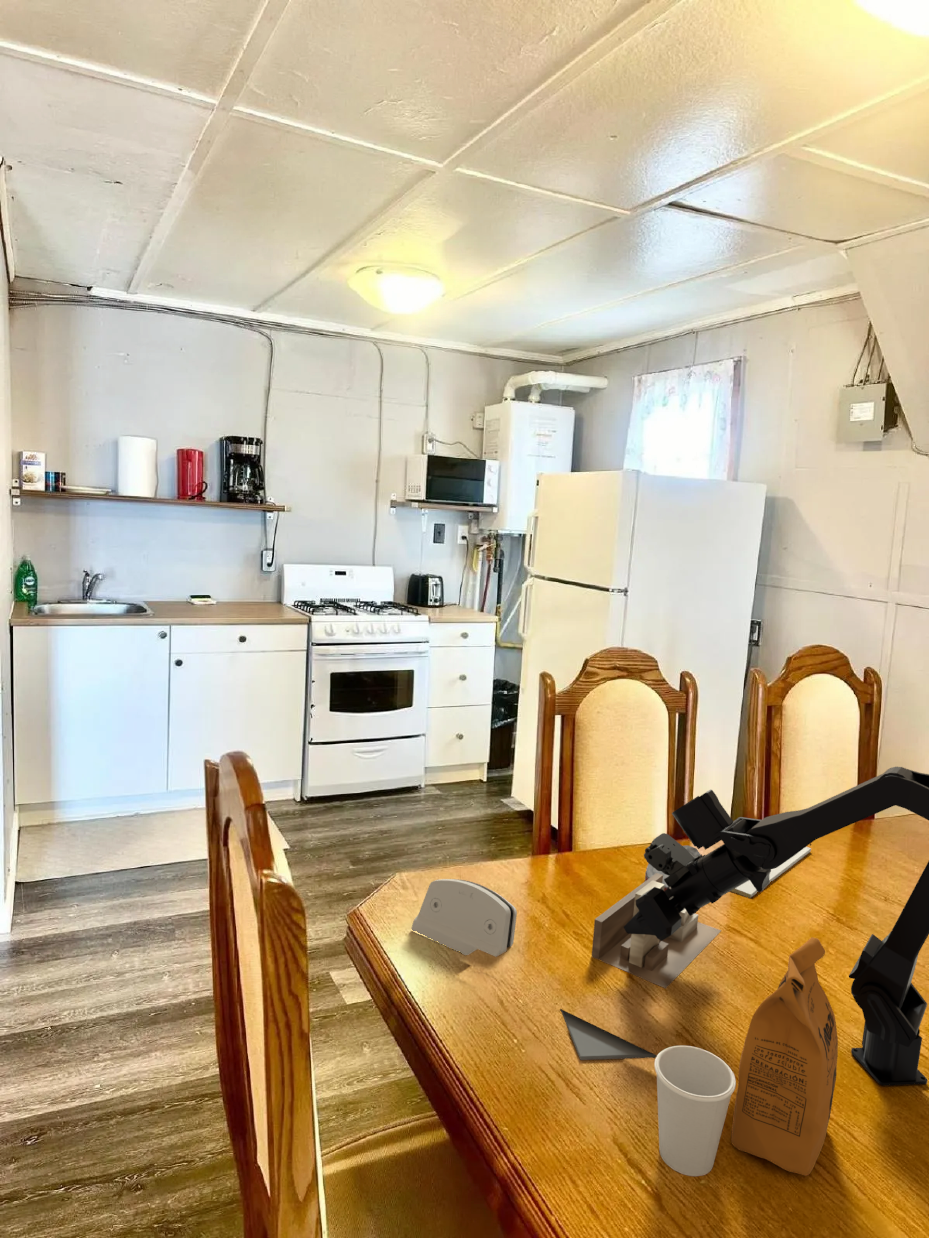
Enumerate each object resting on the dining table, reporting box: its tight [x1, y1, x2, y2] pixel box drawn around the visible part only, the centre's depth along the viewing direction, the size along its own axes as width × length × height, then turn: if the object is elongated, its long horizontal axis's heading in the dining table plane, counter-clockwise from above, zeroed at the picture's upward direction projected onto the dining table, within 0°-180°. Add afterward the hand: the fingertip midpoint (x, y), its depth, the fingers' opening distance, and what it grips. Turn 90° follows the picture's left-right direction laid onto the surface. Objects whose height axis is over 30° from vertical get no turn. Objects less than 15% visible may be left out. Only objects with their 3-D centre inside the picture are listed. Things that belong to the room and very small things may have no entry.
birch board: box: [629, 880, 665, 967], centre depth 123 cm, size 2×6×11 cm, turn 142°
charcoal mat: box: [560, 1008, 658, 1061], centre depth 108 cm, size 12×12×1 cm
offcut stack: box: [669, 909, 699, 942], centre depth 132 cm, size 6×7×4 cm
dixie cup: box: [653, 1045, 737, 1177], centre depth 87 cm, size 8×8×10 cm
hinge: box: [410, 878, 518, 958], centre depth 128 cm, size 17×5×10 cm, turn 55°
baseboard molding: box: [730, 843, 812, 899], centre depth 164 cm, size 31×3×12 cm
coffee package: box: [731, 937, 839, 1177], centre depth 89 cm, size 10×12×22 cm
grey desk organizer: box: [591, 873, 722, 989], centre depth 128 cm, size 12×22×8 cm, turn 142°
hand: (638, 919), depth 124 cm, fingers open, 8 cm apart
